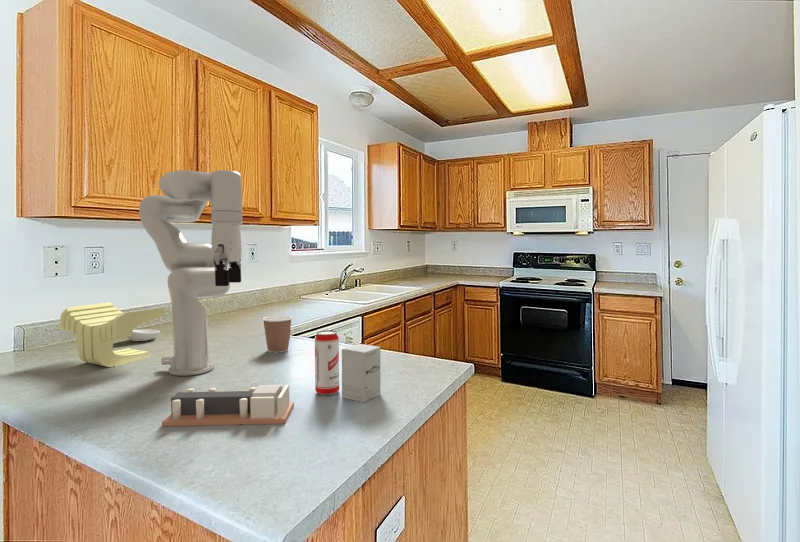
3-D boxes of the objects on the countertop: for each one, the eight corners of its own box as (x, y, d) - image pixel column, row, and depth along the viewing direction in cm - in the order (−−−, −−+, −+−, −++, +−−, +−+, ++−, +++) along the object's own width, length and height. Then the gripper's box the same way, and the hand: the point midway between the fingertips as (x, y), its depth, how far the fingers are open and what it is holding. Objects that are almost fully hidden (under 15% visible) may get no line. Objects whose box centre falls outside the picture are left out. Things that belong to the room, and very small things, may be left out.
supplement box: (364, 403, 105) (364, 352, 104) (341, 397, 109) (340, 348, 108) (381, 394, 111) (381, 346, 110) (358, 389, 115) (358, 342, 114)
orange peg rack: (161, 426, 91) (161, 401, 91) (183, 408, 101) (182, 385, 101) (284, 423, 93) (284, 398, 93) (293, 406, 103) (293, 383, 102)
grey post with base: (169, 416, 94) (169, 394, 94) (180, 408, 99) (179, 386, 99) (275, 414, 95) (275, 392, 95) (280, 406, 100) (280, 385, 100)
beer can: (343, 389, 114) (343, 330, 113) (332, 398, 108) (331, 335, 107) (322, 387, 116) (322, 329, 115) (310, 395, 110) (309, 333, 109)
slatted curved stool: (62, 361, 141) (59, 308, 140) (112, 350, 156) (110, 302, 155) (117, 373, 128) (115, 314, 127) (167, 360, 143) (165, 307, 142)
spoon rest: (151, 336, 181) (150, 319, 180) (166, 339, 174) (165, 322, 174) (86, 347, 161) (85, 329, 160) (99, 352, 154) (99, 332, 154)
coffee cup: (298, 349, 157) (298, 317, 157) (276, 355, 149) (276, 321, 148) (279, 345, 163) (278, 314, 162) (257, 351, 154) (256, 318, 153)
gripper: (224, 220, 120) (225, 281, 121) (198, 216, 103) (200, 287, 104) (251, 220, 121) (252, 281, 122) (230, 217, 103) (232, 287, 104)
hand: (228, 284), depth 113 cm, fingers open, 9 cm apart
